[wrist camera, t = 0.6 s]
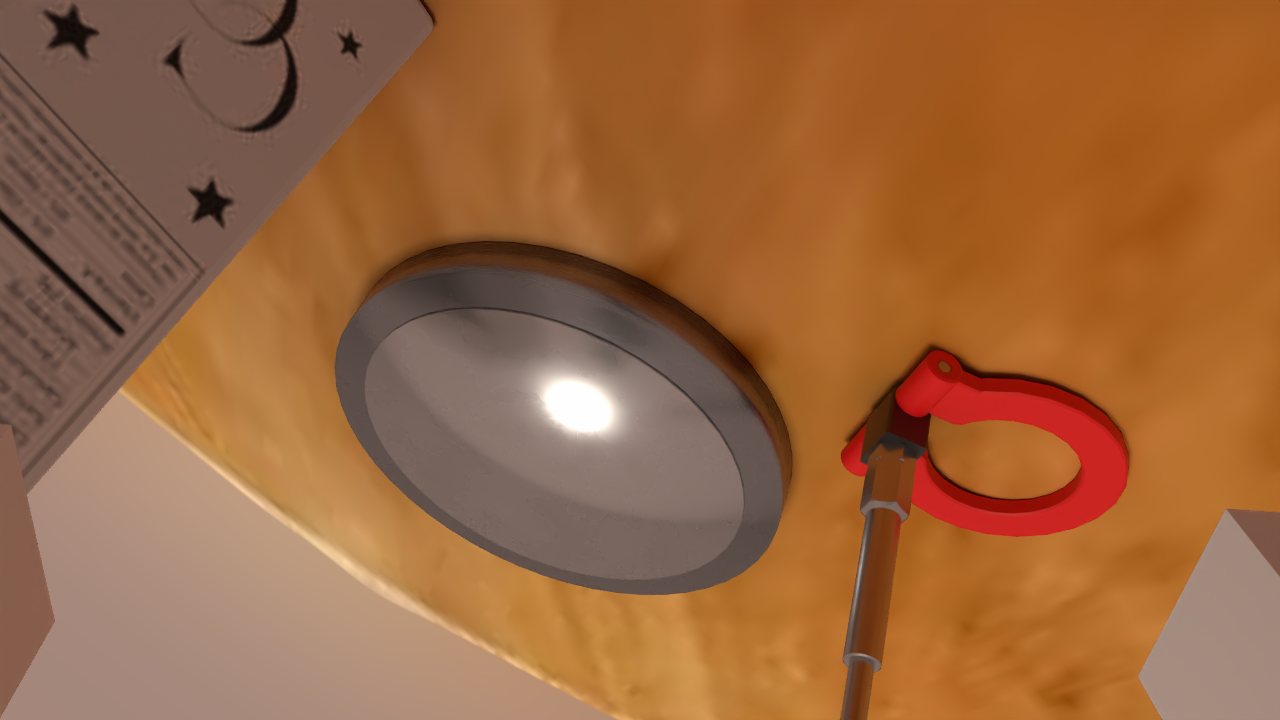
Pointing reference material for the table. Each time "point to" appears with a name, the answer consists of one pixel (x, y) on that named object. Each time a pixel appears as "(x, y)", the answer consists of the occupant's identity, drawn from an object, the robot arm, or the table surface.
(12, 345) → the cereal box
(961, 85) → the table surface
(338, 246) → the table surface
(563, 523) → the dark grey plate
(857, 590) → the tow hook
